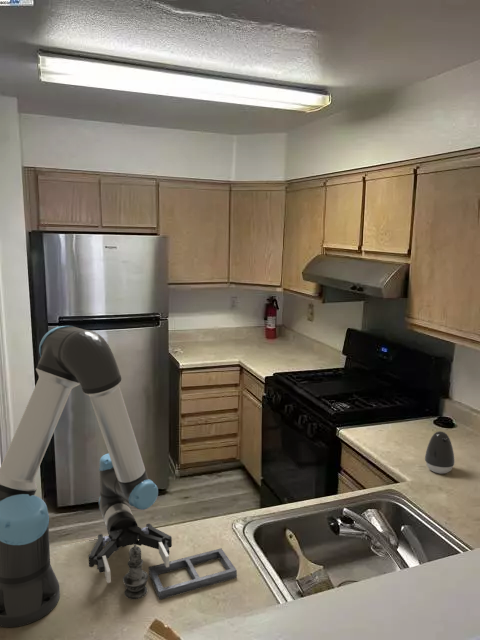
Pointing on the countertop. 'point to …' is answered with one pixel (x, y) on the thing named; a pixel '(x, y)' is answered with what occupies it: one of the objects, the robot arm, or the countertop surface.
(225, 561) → the grey flat rectangular frame
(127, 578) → the dark grey chess piece
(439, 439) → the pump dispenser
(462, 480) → the countertop surface
